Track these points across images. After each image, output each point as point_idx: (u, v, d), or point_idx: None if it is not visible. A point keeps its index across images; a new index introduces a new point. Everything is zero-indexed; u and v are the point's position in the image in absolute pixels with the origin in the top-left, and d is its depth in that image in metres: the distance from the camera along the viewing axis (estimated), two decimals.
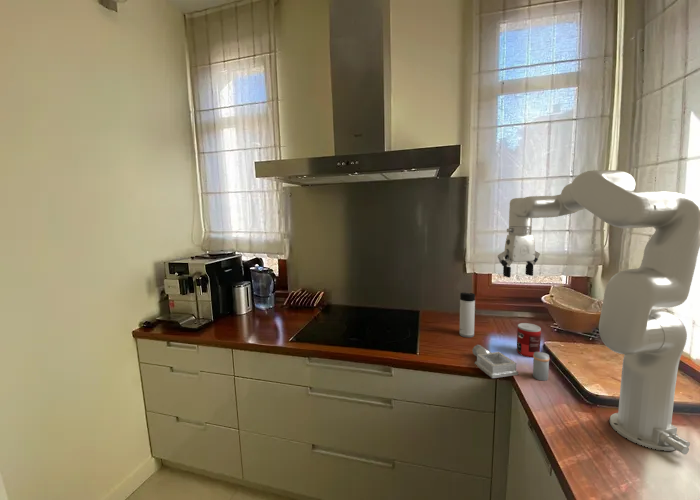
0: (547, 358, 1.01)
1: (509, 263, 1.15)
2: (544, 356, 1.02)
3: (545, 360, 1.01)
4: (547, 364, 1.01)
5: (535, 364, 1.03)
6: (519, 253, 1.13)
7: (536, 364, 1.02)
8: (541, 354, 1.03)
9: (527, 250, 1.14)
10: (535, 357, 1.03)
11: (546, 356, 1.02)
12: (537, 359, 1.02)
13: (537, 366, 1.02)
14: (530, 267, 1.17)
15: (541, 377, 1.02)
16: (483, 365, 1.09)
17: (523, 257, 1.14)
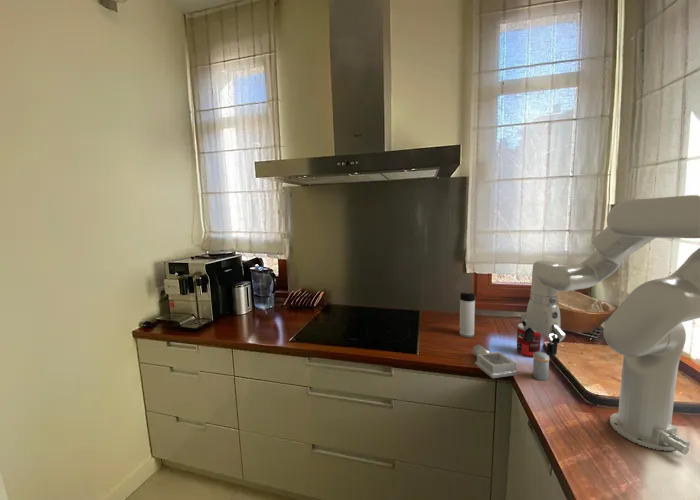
0: (547, 358, 1.01)
1: None
2: (544, 356, 1.02)
3: (545, 360, 1.01)
4: (547, 364, 1.01)
5: (535, 364, 1.03)
6: None
7: (536, 364, 1.02)
8: (541, 354, 1.03)
9: None
10: (535, 357, 1.03)
11: (546, 356, 1.02)
12: (537, 359, 1.02)
13: (537, 366, 1.02)
14: (532, 333, 1.07)
15: (541, 377, 1.02)
16: (483, 365, 1.09)
17: None
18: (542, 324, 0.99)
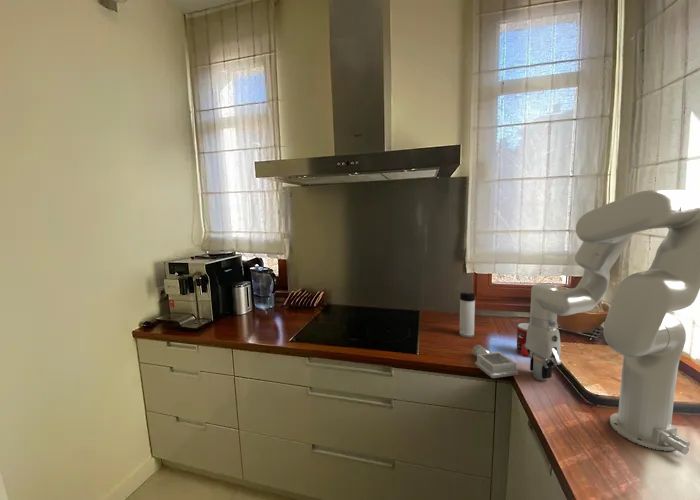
0: None
1: None
2: None
3: None
4: None
5: (535, 364, 1.03)
6: None
7: (536, 364, 1.02)
8: None
9: None
10: (535, 357, 1.03)
11: None
12: (537, 359, 1.02)
13: (537, 366, 1.02)
14: None
15: (541, 377, 1.02)
16: (483, 365, 1.09)
17: None
18: (542, 347, 0.99)
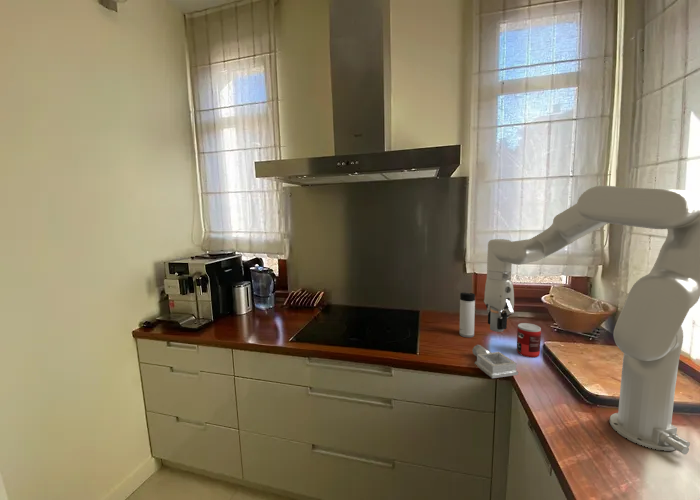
0: None
1: None
2: None
3: None
4: None
5: (491, 316, 1.07)
6: None
7: (493, 316, 1.06)
8: None
9: None
10: (491, 310, 1.07)
11: None
12: (493, 311, 1.06)
13: (493, 318, 1.06)
14: None
15: None
16: (483, 365, 1.09)
17: None
18: (497, 299, 1.03)
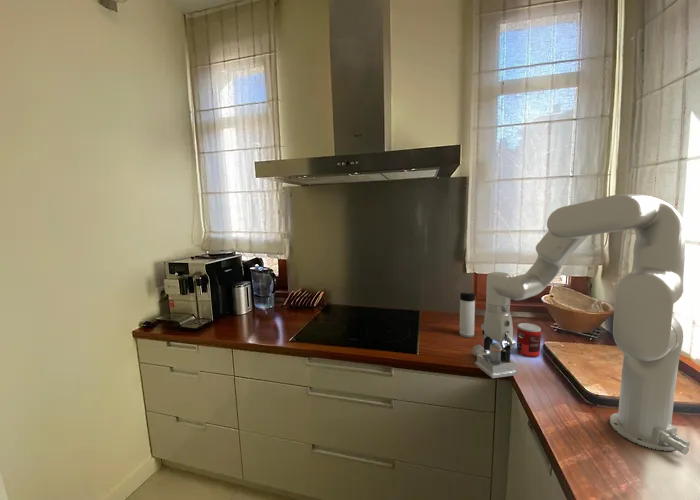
0: (501, 348, 1.06)
1: None
2: (498, 347, 1.07)
3: (500, 351, 1.06)
4: None
5: (491, 354, 1.08)
6: None
7: (492, 354, 1.08)
8: (497, 345, 1.09)
9: None
10: (491, 348, 1.08)
11: None
12: (492, 349, 1.07)
13: (492, 356, 1.08)
14: (491, 341, 1.13)
15: None
16: (483, 365, 1.09)
17: None
18: (496, 332, 1.05)
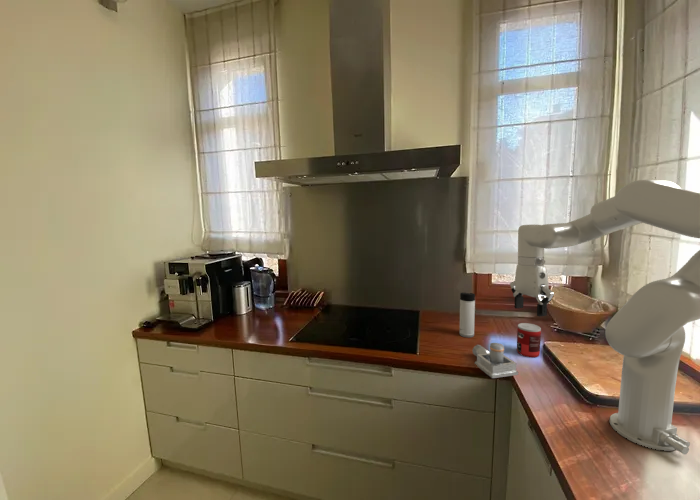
0: (501, 348, 1.06)
1: None
2: (498, 347, 1.07)
3: (500, 351, 1.06)
4: (502, 354, 1.07)
5: (491, 354, 1.08)
6: None
7: (492, 354, 1.08)
8: (497, 345, 1.09)
9: None
10: (491, 348, 1.08)
11: (501, 347, 1.07)
12: (492, 349, 1.07)
13: (492, 356, 1.08)
14: (522, 299, 1.08)
15: None
16: (483, 365, 1.09)
17: None
18: (531, 286, 1.00)
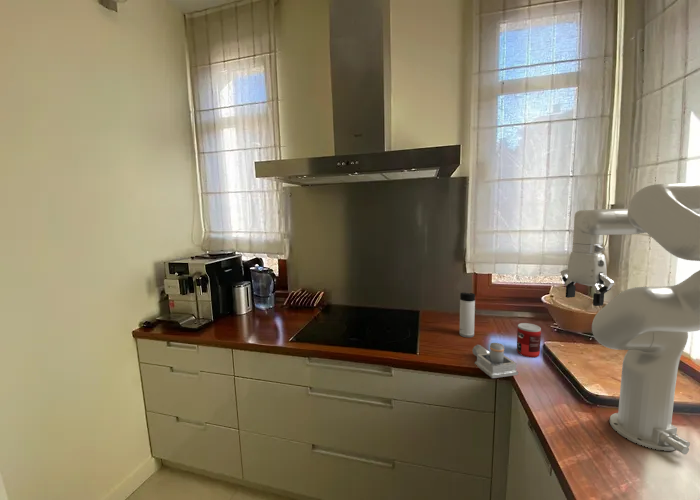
0: (501, 349, 1.06)
1: None
2: (498, 347, 1.07)
3: (500, 351, 1.06)
4: (502, 354, 1.07)
5: (491, 354, 1.08)
6: None
7: (492, 354, 1.08)
8: (497, 345, 1.08)
9: None
10: (491, 347, 1.08)
11: (501, 347, 1.07)
12: (492, 349, 1.07)
13: (492, 356, 1.08)
14: (574, 288, 1.04)
15: None
16: (483, 365, 1.09)
17: None
18: (587, 274, 0.96)
